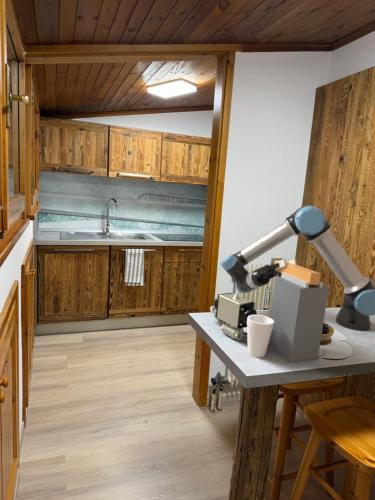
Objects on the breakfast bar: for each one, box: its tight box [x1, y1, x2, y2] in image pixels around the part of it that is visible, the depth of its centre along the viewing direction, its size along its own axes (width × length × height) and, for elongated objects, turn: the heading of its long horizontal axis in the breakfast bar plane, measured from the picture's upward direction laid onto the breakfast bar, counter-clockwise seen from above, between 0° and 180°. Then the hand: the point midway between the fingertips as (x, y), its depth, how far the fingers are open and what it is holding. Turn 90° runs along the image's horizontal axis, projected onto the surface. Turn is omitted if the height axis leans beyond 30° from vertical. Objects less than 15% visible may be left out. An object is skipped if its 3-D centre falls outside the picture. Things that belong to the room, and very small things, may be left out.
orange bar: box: [270, 257, 321, 285], centre depth 130 cm, size 5×23×5 cm, turn 20°
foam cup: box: [246, 314, 274, 358], centre depth 126 cm, size 10×9×13 cm
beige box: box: [209, 304, 223, 324], centre depth 154 cm, size 9×7×10 cm
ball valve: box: [213, 292, 258, 341], centre depth 139 cm, size 18×8×18 cm, turn 36°
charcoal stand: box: [268, 273, 330, 364], centre depth 128 cm, size 12×15×29 cm
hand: (290, 262), depth 132 cm, fingers closed on orange bar, 4 cm apart
